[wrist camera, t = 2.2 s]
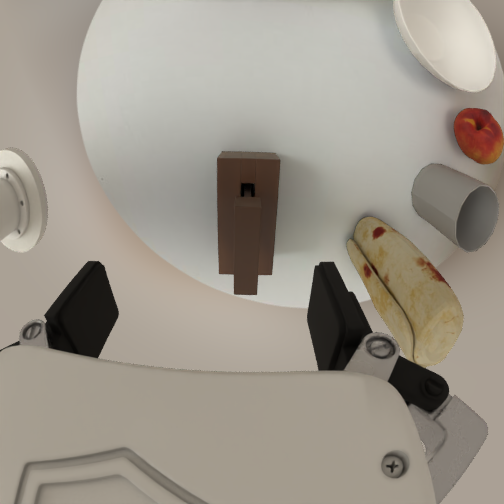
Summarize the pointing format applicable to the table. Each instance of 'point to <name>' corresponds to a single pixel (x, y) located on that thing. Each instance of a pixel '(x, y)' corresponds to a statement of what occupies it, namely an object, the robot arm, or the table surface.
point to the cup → (456, 205)
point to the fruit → (479, 135)
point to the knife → (246, 242)
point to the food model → (406, 292)
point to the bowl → (448, 41)
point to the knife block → (265, 186)
